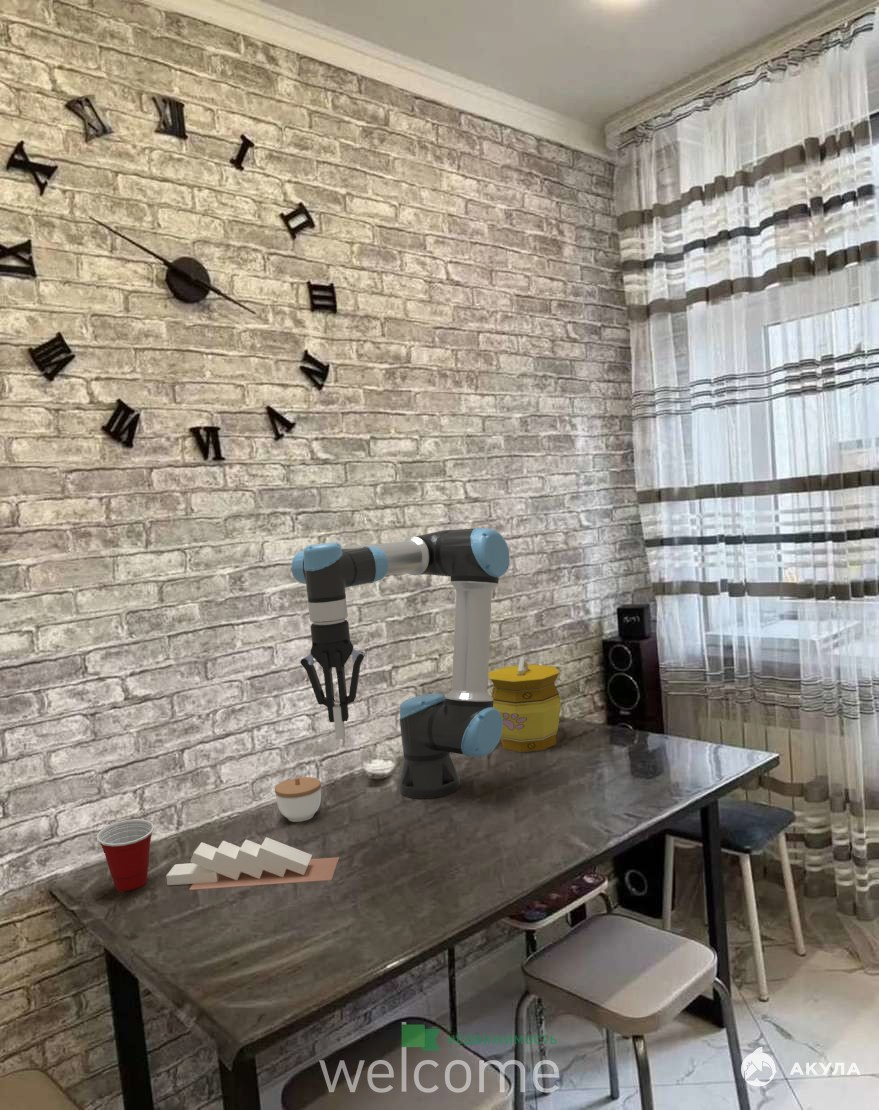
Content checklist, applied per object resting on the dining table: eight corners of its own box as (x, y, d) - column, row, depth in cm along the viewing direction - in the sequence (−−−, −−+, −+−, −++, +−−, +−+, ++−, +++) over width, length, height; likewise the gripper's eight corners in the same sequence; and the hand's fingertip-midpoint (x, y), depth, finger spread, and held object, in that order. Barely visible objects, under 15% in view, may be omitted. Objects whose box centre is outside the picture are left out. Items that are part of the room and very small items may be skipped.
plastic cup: (113, 906, 159) (106, 846, 158) (95, 888, 167) (89, 830, 166) (168, 886, 166) (162, 827, 165) (149, 869, 174) (142, 814, 173)
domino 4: (291, 857, 168) (245, 839, 168) (286, 868, 163) (239, 849, 163) (288, 865, 169) (242, 848, 169) (283, 877, 164) (235, 859, 164)
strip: (339, 859, 171) (339, 857, 171) (331, 882, 161) (331, 879, 161) (205, 869, 172) (205, 866, 172) (189, 892, 162) (189, 889, 162)
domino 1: (223, 860, 169) (175, 864, 169) (216, 872, 164) (166, 875, 164) (224, 870, 169) (176, 873, 169) (217, 881, 164) (167, 885, 164)
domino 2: (247, 860, 169) (201, 842, 169) (240, 871, 164) (193, 852, 164) (243, 869, 169) (198, 850, 169) (237, 880, 164) (190, 861, 164)
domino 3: (268, 858, 169) (223, 840, 169) (262, 869, 164) (215, 851, 164) (265, 867, 169) (219, 849, 169) (259, 879, 164) (212, 860, 164)
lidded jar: (268, 823, 194) (264, 784, 193) (296, 806, 203) (293, 768, 203) (305, 828, 189) (301, 788, 188) (332, 810, 198) (328, 772, 198)
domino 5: (312, 854, 168) (266, 837, 168) (307, 866, 163) (259, 847, 163) (308, 863, 168) (262, 846, 168) (303, 875, 163) (256, 856, 163)
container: (572, 733, 243) (566, 648, 241) (556, 756, 223) (549, 665, 221) (503, 731, 250) (497, 649, 249) (482, 754, 231) (474, 665, 229)
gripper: (364, 615, 168) (374, 729, 170) (300, 620, 169) (312, 734, 171) (359, 621, 161) (370, 740, 163) (292, 627, 161) (305, 745, 163)
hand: (340, 737), depth 167 cm, fingers closed
